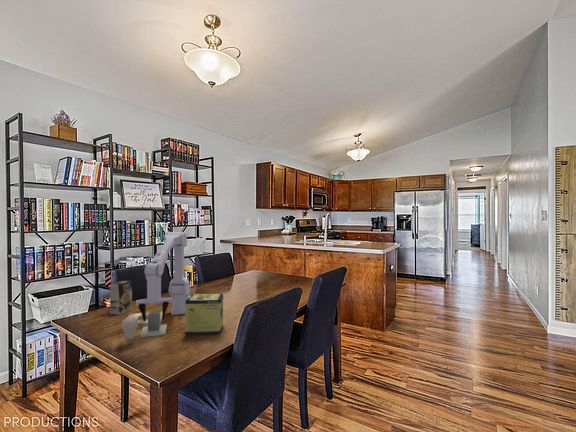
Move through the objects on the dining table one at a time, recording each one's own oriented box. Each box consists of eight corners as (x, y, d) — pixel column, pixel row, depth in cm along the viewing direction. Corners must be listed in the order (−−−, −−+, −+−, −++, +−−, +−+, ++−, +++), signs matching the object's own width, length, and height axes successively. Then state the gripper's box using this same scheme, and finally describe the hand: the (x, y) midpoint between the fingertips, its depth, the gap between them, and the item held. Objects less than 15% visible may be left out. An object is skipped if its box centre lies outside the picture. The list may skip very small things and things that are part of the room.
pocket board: (163, 314, 160) (163, 311, 160) (160, 325, 145) (160, 321, 145) (129, 317, 156) (129, 314, 156) (122, 329, 140) (122, 325, 140)
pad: (166, 326, 144) (166, 324, 144) (165, 334, 135) (165, 332, 135) (143, 328, 141) (143, 326, 141) (140, 337, 132) (140, 334, 132)
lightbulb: (125, 341, 128) (125, 314, 128) (140, 340, 128) (140, 314, 128) (118, 347, 122) (118, 319, 122) (134, 346, 122) (134, 319, 122)
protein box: (220, 334, 135) (220, 299, 135) (184, 335, 134) (184, 300, 134) (223, 325, 146) (223, 293, 146) (190, 326, 144) (190, 293, 144)
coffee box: (120, 315, 160) (120, 284, 160) (109, 314, 161) (109, 283, 161) (132, 309, 169) (132, 280, 169) (122, 308, 170) (122, 279, 170)
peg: (160, 326, 141) (160, 310, 141) (158, 330, 137) (158, 313, 137) (149, 327, 140) (149, 311, 140) (147, 331, 135) (147, 314, 135)
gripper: (134, 293, 132) (134, 324, 132) (170, 290, 136) (170, 321, 136) (137, 289, 138) (137, 319, 139) (171, 287, 143) (171, 315, 143)
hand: (154, 319), depth 138 cm, fingers open, 7 cm apart
